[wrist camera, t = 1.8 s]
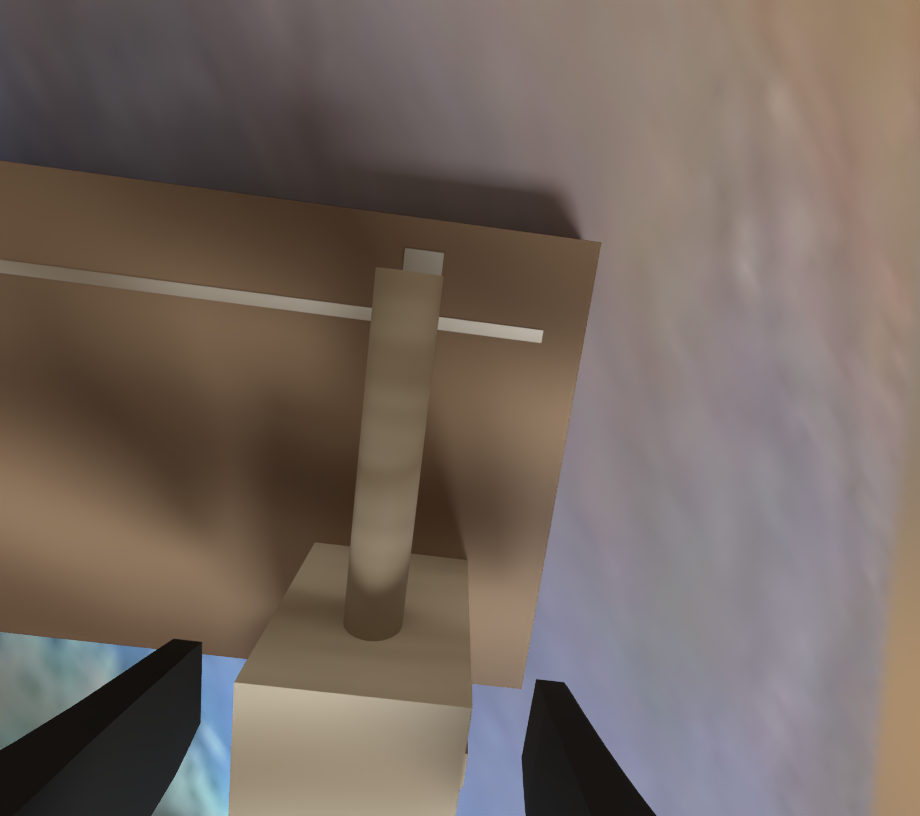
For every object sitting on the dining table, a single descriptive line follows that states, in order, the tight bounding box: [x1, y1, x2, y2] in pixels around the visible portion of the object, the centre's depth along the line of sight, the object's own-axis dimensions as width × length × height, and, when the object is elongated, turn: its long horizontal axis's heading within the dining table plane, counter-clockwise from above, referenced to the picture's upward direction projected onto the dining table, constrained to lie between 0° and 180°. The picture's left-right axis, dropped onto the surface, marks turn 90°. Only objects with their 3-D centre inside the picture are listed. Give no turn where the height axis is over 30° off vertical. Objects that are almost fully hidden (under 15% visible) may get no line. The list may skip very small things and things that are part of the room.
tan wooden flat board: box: [0, 161, 601, 689], centre depth 14 cm, size 12×24×2 cm, turn 83°
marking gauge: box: [229, 267, 472, 816], centre depth 12 cm, size 12×5×6 cm, turn 173°
